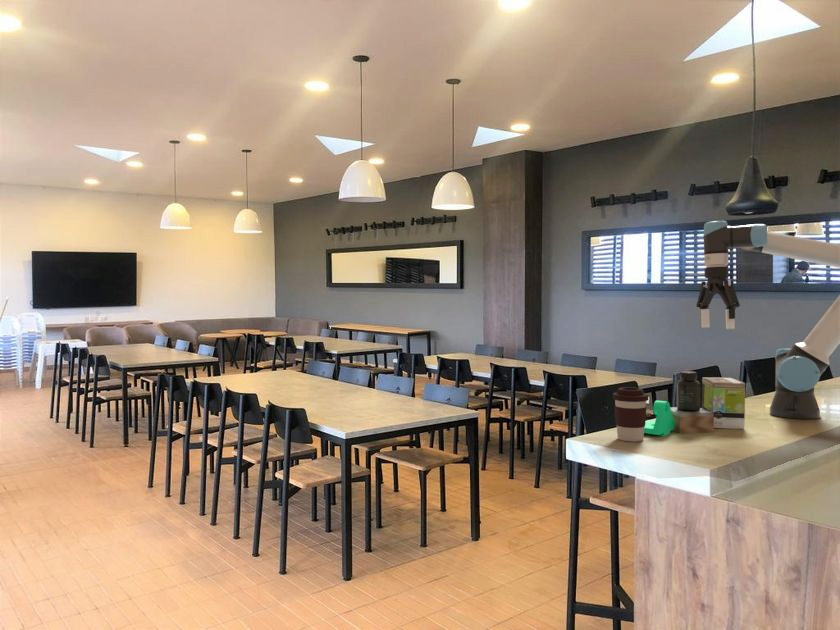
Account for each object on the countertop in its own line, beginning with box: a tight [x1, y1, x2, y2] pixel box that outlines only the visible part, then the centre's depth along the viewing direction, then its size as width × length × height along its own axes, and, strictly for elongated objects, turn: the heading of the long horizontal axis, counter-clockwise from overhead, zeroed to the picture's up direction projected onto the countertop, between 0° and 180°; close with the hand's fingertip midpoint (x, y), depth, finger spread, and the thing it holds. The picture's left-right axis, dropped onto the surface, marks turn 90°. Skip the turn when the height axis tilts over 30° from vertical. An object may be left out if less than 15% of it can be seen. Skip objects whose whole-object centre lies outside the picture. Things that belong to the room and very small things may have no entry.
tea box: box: [701, 376, 746, 430], centre depth 210 cm, size 15×10×15 cm, turn 168°
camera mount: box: [644, 400, 675, 437], centre depth 199 cm, size 12×8×10 cm, turn 136°
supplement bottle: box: [676, 370, 701, 412], centre depth 203 cm, size 7×7×12 cm
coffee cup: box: [612, 386, 649, 443], centre depth 190 cm, size 10×10×15 cm
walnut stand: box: [670, 406, 715, 434], centre depth 204 cm, size 11×11×6 cm
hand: (717, 328), depth 223 cm, fingers open, 13 cm apart
